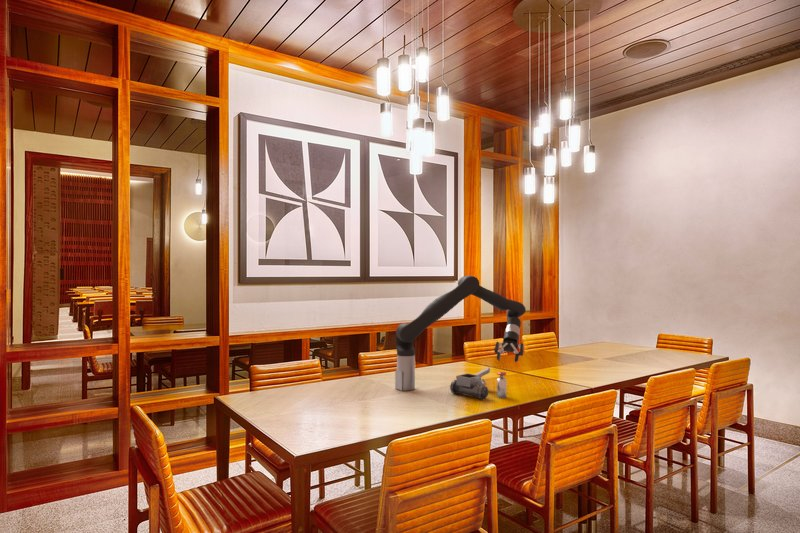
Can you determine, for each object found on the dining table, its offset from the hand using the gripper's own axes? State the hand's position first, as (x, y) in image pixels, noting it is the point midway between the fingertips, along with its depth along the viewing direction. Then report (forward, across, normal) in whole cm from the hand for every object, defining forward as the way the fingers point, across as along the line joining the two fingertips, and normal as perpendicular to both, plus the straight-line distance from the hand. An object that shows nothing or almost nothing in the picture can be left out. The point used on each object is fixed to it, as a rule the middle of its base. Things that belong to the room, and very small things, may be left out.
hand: (506, 360), depth 246 cm
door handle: (+9, -19, +14) cm, 25 cm away
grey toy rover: (+23, -15, -1) cm, 27 cm away
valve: (+19, 0, +3) cm, 20 cm away
